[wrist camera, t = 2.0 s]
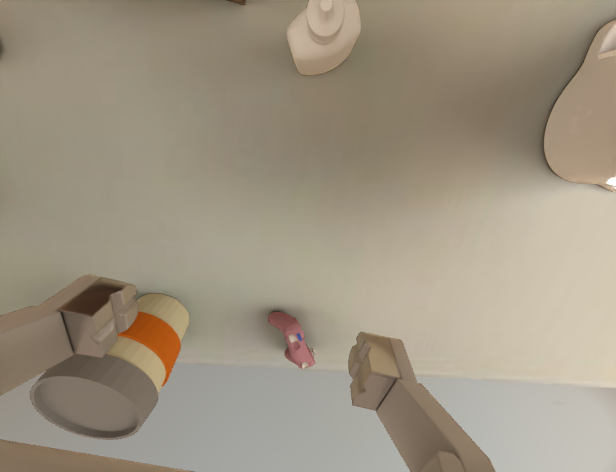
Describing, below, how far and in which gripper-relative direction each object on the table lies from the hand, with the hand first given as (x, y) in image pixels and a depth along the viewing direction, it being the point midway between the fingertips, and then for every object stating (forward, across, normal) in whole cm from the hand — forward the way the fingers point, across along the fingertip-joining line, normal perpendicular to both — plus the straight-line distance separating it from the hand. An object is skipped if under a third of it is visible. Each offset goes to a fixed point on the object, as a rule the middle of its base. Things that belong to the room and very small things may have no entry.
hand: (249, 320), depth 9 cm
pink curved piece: (+24, -5, +26) cm, 35 cm away
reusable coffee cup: (+23, +17, +28) cm, 40 cm away
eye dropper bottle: (+24, 0, -12) cm, 27 cm away
